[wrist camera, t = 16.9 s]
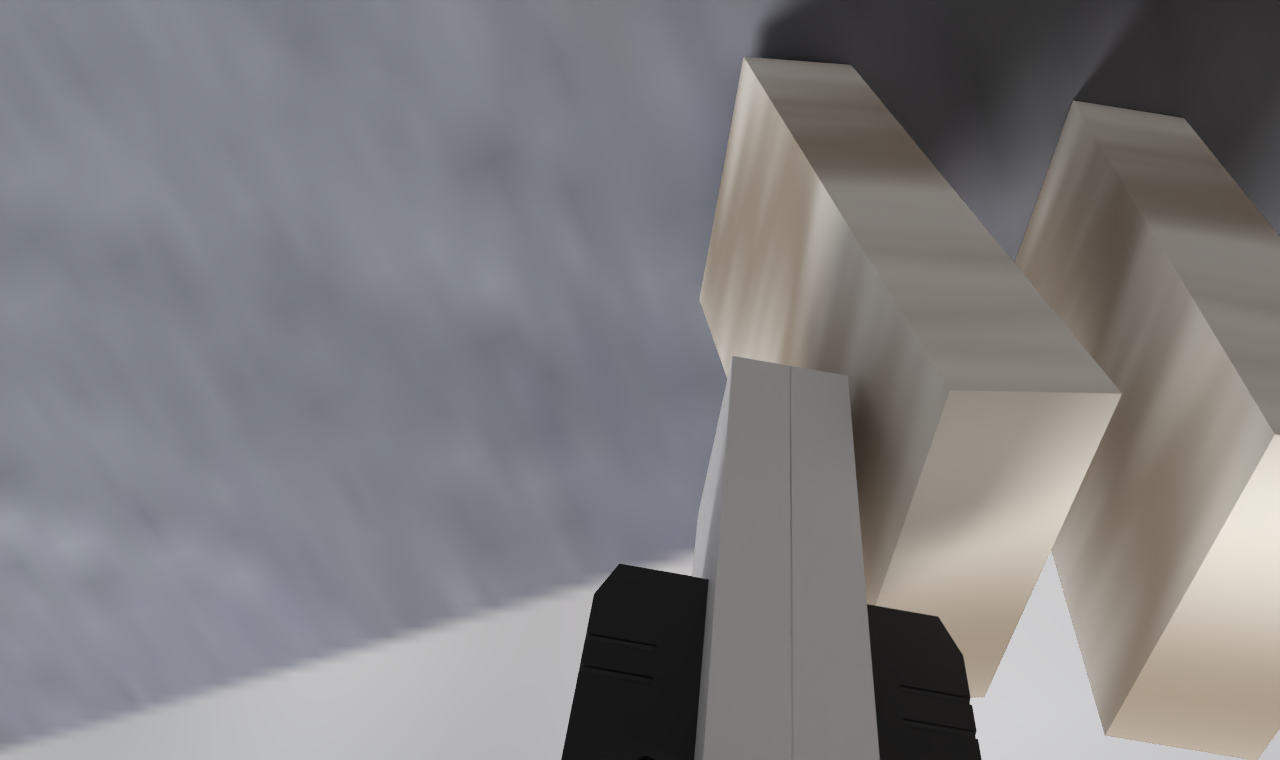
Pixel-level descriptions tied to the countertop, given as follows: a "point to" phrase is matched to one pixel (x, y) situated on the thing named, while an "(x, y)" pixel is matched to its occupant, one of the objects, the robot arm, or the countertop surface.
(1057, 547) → the domino
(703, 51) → the countertop surface
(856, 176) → the domino
